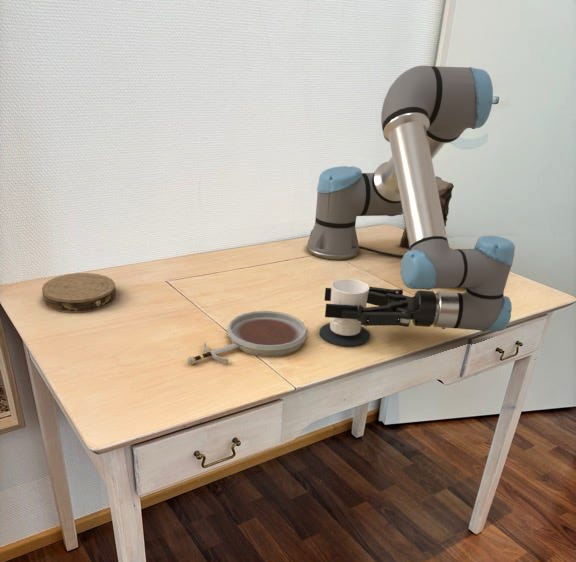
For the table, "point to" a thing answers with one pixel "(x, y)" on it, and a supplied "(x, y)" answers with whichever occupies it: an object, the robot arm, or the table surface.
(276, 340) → the frying pan
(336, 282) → the white cup
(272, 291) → the table surface
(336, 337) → the coaster
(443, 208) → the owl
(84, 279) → the tin can
